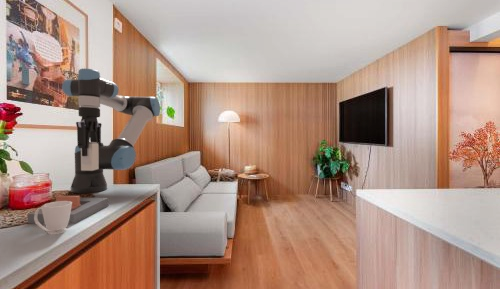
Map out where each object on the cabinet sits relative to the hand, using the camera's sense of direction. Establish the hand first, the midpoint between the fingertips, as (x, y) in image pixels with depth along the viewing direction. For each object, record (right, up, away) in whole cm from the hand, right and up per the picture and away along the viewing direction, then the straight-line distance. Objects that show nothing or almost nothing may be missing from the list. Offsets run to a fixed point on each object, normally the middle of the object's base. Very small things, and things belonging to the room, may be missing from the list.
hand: (90, 163), depth 103 cm
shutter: (+5, -14, -22) cm, 26 cm away
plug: (0, -3, 0) cm, 3 cm away
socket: (+5, -16, -17) cm, 24 cm away
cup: (+10, -17, -32) cm, 38 cm away
